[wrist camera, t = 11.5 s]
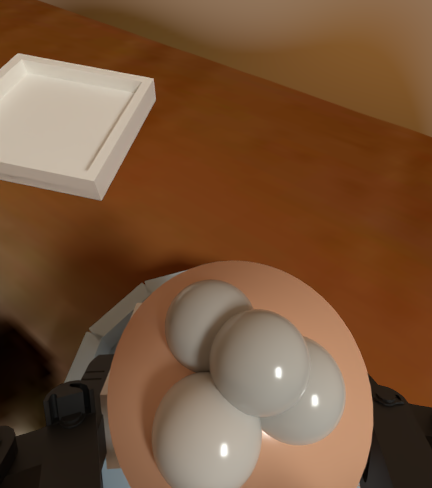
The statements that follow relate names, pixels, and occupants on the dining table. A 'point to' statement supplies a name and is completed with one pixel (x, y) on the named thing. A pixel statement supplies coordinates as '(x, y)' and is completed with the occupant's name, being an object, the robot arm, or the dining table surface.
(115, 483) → the bowl
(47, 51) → the dining table surface
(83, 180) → the tray
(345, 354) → the pebble cup
